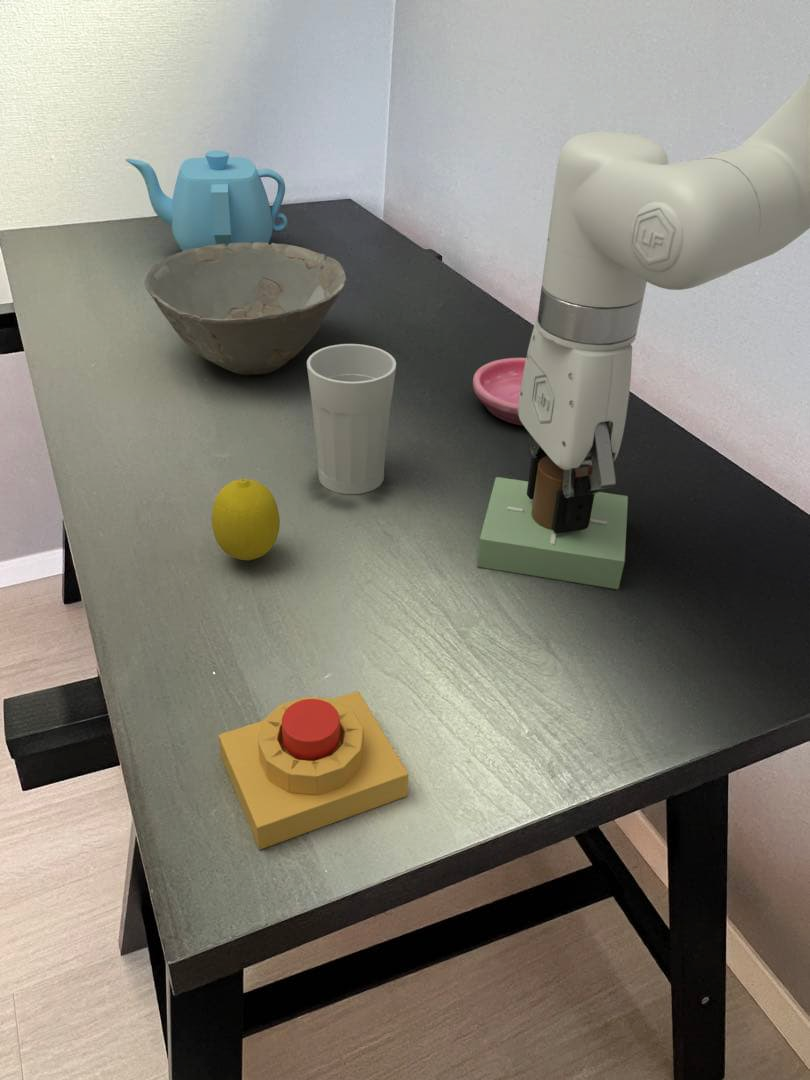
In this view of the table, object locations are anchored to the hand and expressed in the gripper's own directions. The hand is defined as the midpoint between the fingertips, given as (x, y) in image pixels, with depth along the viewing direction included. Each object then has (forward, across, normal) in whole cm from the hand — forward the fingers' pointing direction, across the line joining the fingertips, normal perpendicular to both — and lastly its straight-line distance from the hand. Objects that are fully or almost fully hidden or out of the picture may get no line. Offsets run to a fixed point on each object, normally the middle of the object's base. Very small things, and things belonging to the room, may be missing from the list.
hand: (556, 510), depth 82 cm
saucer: (+4, -24, +8) cm, 26 cm away
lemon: (+4, -5, -26) cm, 27 cm away
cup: (+4, -15, -14) cm, 21 cm away
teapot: (+4, -78, -18) cm, 81 cm away
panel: (+4, 0, 0) cm, 4 cm away
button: (0, +20, -26) cm, 33 cm away
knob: (+1, 0, 0) cm, 1 cm away
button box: (+4, +20, -26) cm, 33 cm away
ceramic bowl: (+4, -43, -19) cm, 47 cm away
